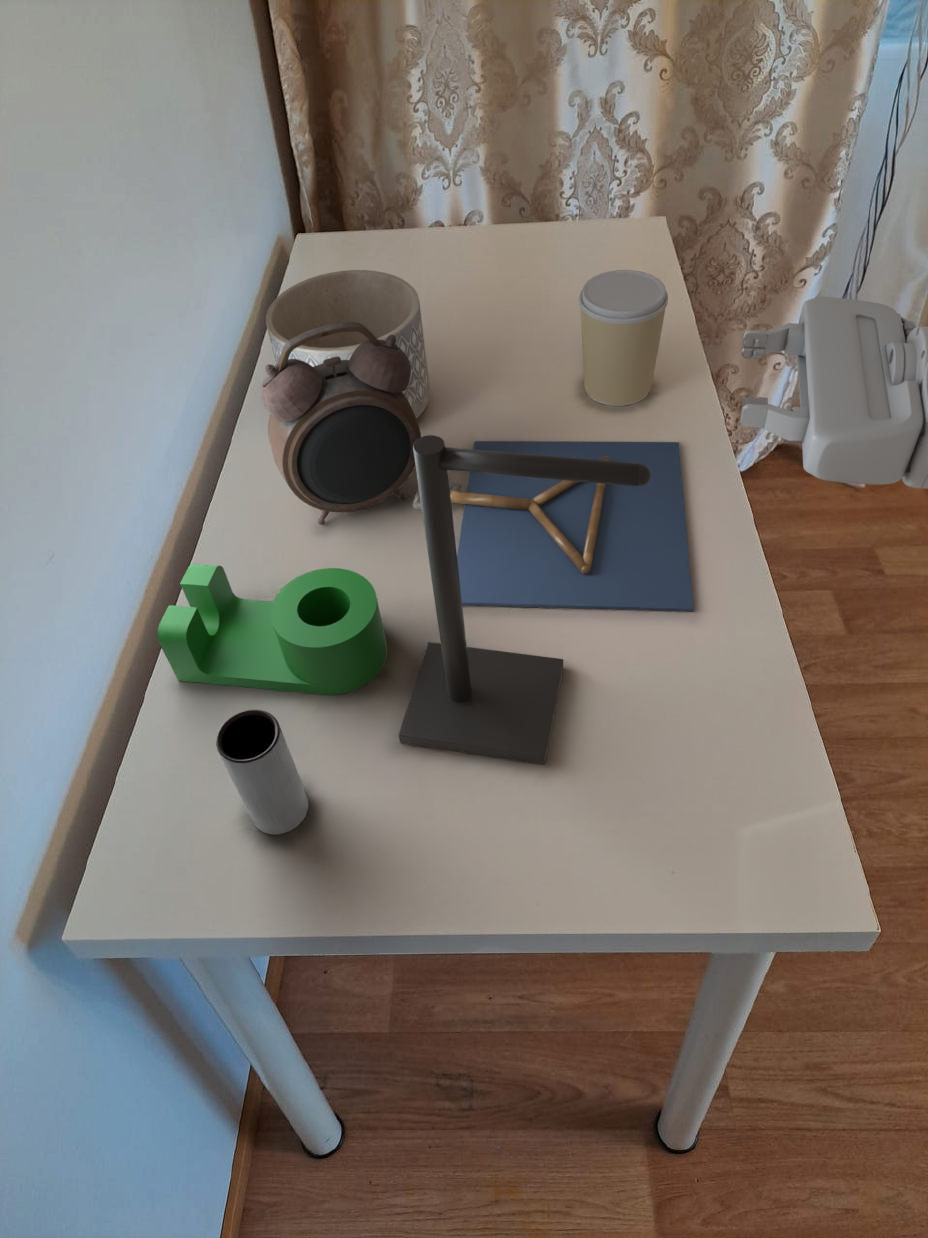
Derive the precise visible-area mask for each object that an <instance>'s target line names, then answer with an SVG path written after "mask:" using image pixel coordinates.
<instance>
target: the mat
mask: <svg viewBox="0 0 928 1238" xmlns="http://www.w3.org/2000/svg"><path fill="white" fill-rule="evenodd" d="M472 450H484V451H497V452H509V453H521V454H533V455H545V456H557V457H569V458H581V459H593V460H599V459H600V458H602V457H604V456H608V457H609V458H610V461H617V462H629V463H640V464H644V465H646V466H647V467H648V468H649V470H650V479H649V481H648V483H647V484H645V485H644V486H641V487H634V486H623V485H611V484H606V488H605V494H604V500H603V505H602V511H601V516H600V522H599V527H598V533H597V538H596V544H595V549H594V555H593V560H592V566H591V571H590V572H589V573H588V574H583V573H581V572H580V570H579V569H578V568H577V567H576V566H575V564H574V563H573V562H572V561H571V560H570V558H569V557H568V556H567V555H566V554H565V552H564V551H563V550H562V549H561V548H560V547H559V545H558V544H557V543H556V542H555V541H554V539H553V538H552V537H551V536H550V535H549V533H548V532H547V531H546V530H545V529H544V527H543V526H542V525H541V524H540V523H539V522H538V520H537V519H536V518H535V517H534V516H533V514H532V513H531V512H530V511H525V510H516V509H506V508H497V507H487V506H478V505H469V504H464V508H463V514H462V520H461V526H460V535H459V539H458V540H459V541H458V546H457V561H458V570H459V580H460V589H461V598H462V606H475V607H476V606H477V607H478V606H480V607H509V608H511V607H512V608H516V607H517V608H545V609H546V608H547V609H550V608H553V609H582V610H583V609H586V610H587V609H588V610H589V609H590V610H593V609H594V610H619V611H620V610H622V611H623V610H626V611H627V610H628V611H658V612H661V611H662V612H663V611H664V612H694V602H693V601H694V600H693V591H692V589H693V588H692V578H691V577H692V576H691V567H690V554H689V543H688V532H687V531H688V530H687V520H686V511H685V509H686V508H685V496H684V486H683V476H682V463H681V452H680V442H679V441H574V440H573V441H555V440H551V441H550V440H549V441H548V440H546V441H545V440H544V441H543V440H542V441H541V440H540V441H539V440H537V441H536V440H474V441H473V447H472ZM561 481H563V480H554V479H543V478H532V477H520V476H509V475H497V474H486V473H475V472H468V480H467V487H466V492H468V493H478V494H487V495H497V496H507V497H516V498H526V499H533V498H534V497H536V496H538V495H539V494H541V493H543V492H544V491H546V490H548V489H550V488H551V487H553V486H555V485H556V484H558V483H560V482H561ZM595 488H596V483H589V482H579V483H577V484H575V485H574V486H572V487H570V488H569V489H567V490H565V491H564V492H562V493H560V494H559V495H557V496H555V497H554V498H552V499H550V500H549V501H547V502H545V503H544V504H542V505H540V506H539V507H540V508H541V509H542V511H543V512H544V513H545V514H546V515H547V516H548V518H549V519H550V520H551V521H552V522H553V523H554V525H555V526H556V527H557V528H558V529H559V530H560V532H561V533H562V534H563V535H564V536H565V537H566V539H567V540H568V541H569V542H570V543H571V544H572V546H573V547H574V548H575V549H576V550H577V551H578V553H579V554H580V555H581V556H583V551H584V545H585V540H586V535H587V530H588V525H589V519H590V514H591V509H592V504H593V499H594V493H595Z"/></svg>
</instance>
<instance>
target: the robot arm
mask: <svg viewBox="0 0 928 1238" xmlns="http://www.w3.org/2000/svg"><path fill="white" fill-rule="evenodd" d="M778 352H783V354H784V355H786V356H797V368H798V371H797V372H798V373H797V374H798V388H799V389H798V391H799V392H798V393H799V406H793V407H792V408H791V410H789V409H787V408H783V407H780V406H777V405H774V404H771V403H769V398H768V397H763V396H762V397H761V396H758V397H755V396H746V397H745V398H744V399H742V404H741V408H740V425H741V426H742V427H744V428H753V429H763V430H764V431H766V432H768V433H770V434H772V435H774V436H776V437H779V438H781V439H783V440H785V441H788V442H801V445H802V446H801V447H802V448H801V450H802V466H803V470H804V472H806V473H808V474H809V475H811V476H813V477H815V478H817V479H819V480H822V481H826V482H834V483H841V484H842V483H844V484H855V485H872V486H873V485H874V486H877V485H878V486H882V485H883V486H885V485H891V484H895V483H897V482H899V481H900V480H902V483H903V484H904V485H905V486H906V487H909V488H913V489H920V490H921V489H922V490H928V326H920V325H919V326H917V325H916V324H915V322H914V321H912V320H908V319H906V318H905V317H903V316H902V315H901V313H899V312H897V311H896V310H895V309H894V308H893V307H891V306H889V305H886V304H884V303H878V302H873V301H867V300H860V299H852V298H845V297H844V298H843V297H834V296H832V297H831V296H817V297H813V298H810V299H807V300H804V302H803V304H802V307H801V311H800V315H799V320H798V323H792V322H791V323H790V322H788V323H785V324H782V325H779V326H776V327H773V328H769V329H767V330H757V329H749V330H746V331H745V332H744V333H743V338H742V343H741V356H742V357H743V358H744V359H747V360H748V359H754V360H764V356H765V355H767V354H772V353H778Z"/></svg>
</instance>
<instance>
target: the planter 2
mask: <svg viewBox="0 0 928 1238" xmlns="http://www.w3.org/2000/svg"><path fill="white" fill-rule="evenodd" d="M420 303H421V302H420V298H419V295H418V293H417V291H416V289H415V288H414V286H412V285H411V284H410V283H409V282H408V281H406V280H404V279H403V278H401V277H399V276H397V275H394V274H391V273H388V272H383V271H377V270H368V269H348V270H340V271H339V270H338V271H332V272H328V273H327V272H326V273H323V274H319V275H316V276H313V277H310V278H307V279H305V280H302V281H300V282H298V283H296V284H293V285H292V286H291V287H288V288H287V289H285V290H284V291H282V292H281V293H280V294H279V295H278V296H277V297H276V298H275V299H274V300H273V301H272V303H270V306H269V307H268V309H267V312H266V315H265V325H266V329H267V334H268V338H269V340H270V344H271V345H270V346H271V348H272V352H273V355H274V360H275V365H276V364H277V363H278V360H279V357H280V354H281V352H282V349H283V347H284V345H285V344H286V343H287V342H288V341H289V340H291V339H293V338H294V337H296V336H298V335H300V334H301V333H303V332H306V331H309V330H312V329H315V328H319V327H323V326H326V325H330V324H335V323H341V322H357V323H360V324H362V325H364V326H365V327H366V328H367V329H368V330H369V331H370V332H371V333H372V334H373V335H374V336H375V337H376V338H377V339H380V340H385V341H386V340H387V337H388V336H389V335H394V336H395V337H396V343H395V344H396V345H397V346H398V347H399V348H400V349H401V350H402V351H403V352H404V353H405V354H406V356H407V357H408V359H409V362H410V366H411V373H410V379H409V383H408V386H407V388H406V390H405V391H403V394H404V395H405V397H406V398H407V400H408V402H409V403H410V405H411V408H412V410H413V412H414V415H415V417H416V419H418V418H419V417H420V416H421V414H422V413H423V412H424V411H425V409H426V407H427V406H428V404H429V400H430V396H431V389H430V381H429V371H428V361H427V354H426V345H425V337H424V330H423V329H424V328H423V319H422V311H421V304H420ZM367 340H369V339H368V338H367V337H366V336H365V335H364V334H362V333H360V332H340V333H335V334H331V335H327V336H324V337H320V338H316V339H314V340H311V341H308V342H306V343H304V344H302V345H301V346H299V347H297V348H295V349H294V350H293V351H292V352H291V354H290V356H289V358H288V359H298V360H301V361H304V362H306V363H308V364H309V365H311V366H313V367H314V366H317V365H320V364H323V361H324V360H326V359H329V358H332V357H340V359H341V360H349V359H350V357H351V355H352V354H353V352H354V351H355V349H356V348H357V347H358V346H359V345H360V344H361V343H363V342H365V341H367Z"/></svg>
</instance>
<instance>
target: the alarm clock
mask: <svg viewBox="0 0 928 1238" xmlns="http://www.w3.org/2000/svg"><path fill="white" fill-rule="evenodd" d="M340 332H360V333H362V334H364V335H365V336H366V337H367V338H368V339H369V340H367V341H365V342H363V343H361V344H360V345H359V346H358V347H357V348H356V349H355V351H354V352H353V354H352V355H351V357H350V359H349V360H341V359H340V357H332V358H329V359H326V360H324V361H323V364H320V365H317V366H314V367H313V366H311V365H309V364H308V363H306V362H304V361H301V360H298V359H288V358H289V356H290V354H291V352H292V351H293V350H294V349H295V348H297V347H299V346H301V345H302V344H304V343H306V342H308V341H311V340H314V339H316V338H320V337H324V336H327V335H331V334H335V333H340ZM395 343H396V337H395V336H394V335H389V336H388V337H387V340H386V341H385V340H380V339H377V338H376V337H375V336H374V335H373V334H372V333H371V332H370V331H369V330H368V329H367V328H366V327H365V326H364V325H362V324H360V323H357V322H341V323H335V324H330V325H326V326H323V327H319V328H315V329H312V330H309V331H306V332H303V333H301V334H300V335H298V336H296V337H294V338H293V339H291V340H289V341H288V342H287V343H286V344H285V345H284V347H283V349H282V352H281V354H280V357H279V360H278V363H277V364H276V363H275V365H273V364H269V363H268V364H266V365H265V367H264V369H265V372H266V374H265V375H264V378H263V379H262V380H261V382H260V384H261V385H260V398H261V401H262V403H263V405H264V407H265V409H266V410H267V412H268V413H269V418H268V425H267V430H268V431H267V435H268V440H269V444H270V447H271V452H272V457H273V460H274V463H275V465H276V467H277V469H278V471H279V473H280V474H281V476H282V478H283V479H284V481H285V483H286V484H287V486H288V487H289V489H290V490H291V491H292V493H293V494H294V495H295V496H296V497H297V498H298V499H299V500H300V501H301V502H303V503H305V504H306V505H308V506H310V507H312V508H315V509H317V510H320V511H321V513H320V517H319V518H318V520H317V523H318V524H319V525H320V526H321V525H325V523H326V520H325V519H326V518H327V517H328V515H329V514H330V513H351V512H355V511H356V512H357V511H360V510H365V509H367V508H370V507H372V506H375V505H377V504H379V503H381V502H382V501H384V500H386V499H388V498H389V497H391V496H392V495H394V496H396V497H398V500H399V501H404V500H405V499H406V494H404V493H402V492H401V491H400V490H399V489H400V488H401V487H402V486H403V485H404V484H405V482H407V480H408V479H409V477H411V474H412V473H413V471H414V470H415V469H416V465H415V458H414V451H413V444H414V442H415V441H416V440H417V439H418V438H420V437H422V433H421V429H420V426H419V422H418V418H416V417H415V415H414V412H413V410H412V408H411V405H410V403H409V402H408V400H407V398H406V397H405V395H404V394H403V391H405V390H406V388H407V386H408V383H409V379H410V373H411V366H410V362H409V359H408V357H407V356H406V354H405V353H404V352H403V351H402V350H401V349H400V348H399V347H398V346H397V345H396V344H395Z"/></svg>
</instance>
